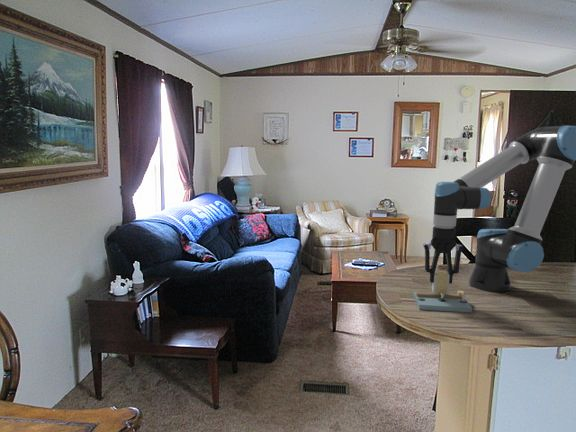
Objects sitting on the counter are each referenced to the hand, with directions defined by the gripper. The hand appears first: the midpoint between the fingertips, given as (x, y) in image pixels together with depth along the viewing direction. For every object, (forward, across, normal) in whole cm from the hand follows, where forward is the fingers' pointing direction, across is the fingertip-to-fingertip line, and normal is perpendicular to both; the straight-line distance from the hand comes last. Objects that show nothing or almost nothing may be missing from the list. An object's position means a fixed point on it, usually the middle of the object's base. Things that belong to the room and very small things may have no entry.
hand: (440, 291), depth 162 cm
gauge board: (+4, 0, +2) cm, 4 cm away
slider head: (+2, 0, +1) cm, 2 cm away
